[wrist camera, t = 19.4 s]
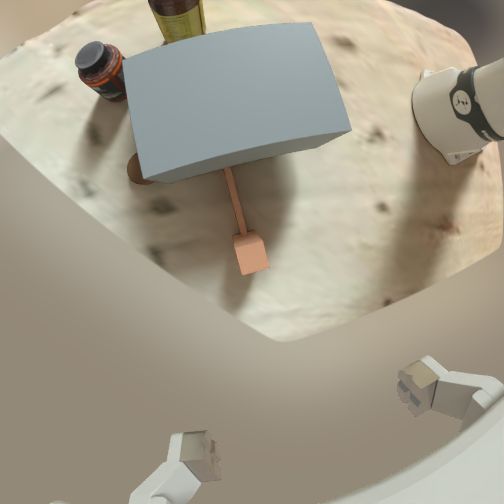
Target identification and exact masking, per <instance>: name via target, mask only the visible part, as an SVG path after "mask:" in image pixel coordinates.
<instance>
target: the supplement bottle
mask: <svg viewBox="0 0 504 504" xmlns="http://www.w3.org/2000/svg"><path fill="white" fill-rule="evenodd" d="M122 60H125V57H124V56H123V55H122V54H121V52H120V51H119V50H118V49H117V48H116V47H115V46H113V45H109V44H104V45H103V43H101V42H99V41H94V42H91V43H89V44H87V45H85V46H84V47H83V48H82V49H81V50H80V51H79V52H78V54H77V56H76V59H75V65H76V67H77V68H79V69H78V74H79V77H80V79H81V80H82V81H83V82H84V83H85V84H86V85H88V86H89V87H90V88H92V89H93V90H94V91H96V92H97V93H99V94H100V95H101V96H103V97H104V98H105V99H107V100H109V101H112V102H116V101H121V100H123V99H125V98H127V93H126V87H125V79H124V72H123V64H122Z"/></svg>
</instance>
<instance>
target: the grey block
mask: <svg viewBox="0 0 504 504" xmlns="http://www.w3.org/2000/svg"><path fill="white" fill-rule="evenodd" d="M122 64H123V72H124V79H125V87H126V93H127V100H128V106H129V112H130V117H131V123H132V128H133V133H134V138H135V143H136V148H137V153H138V157H139V162H140V166H141V170H142V175H143V179H147V180H151V181H156V182H161V183H166V184H171V183H174V182H177V181H180V180H184V179H187V178H190V177H194V176H197V175H201V174H204V173H208V172H211V171H215V170H219V169H223V168H226V167H230V166H234V165H238V164H242V163H246V162H251V161H255V160H259V159H263V158H268V157H273V156H277V155H282V154H287V153H292V152H297V151H302V150H307V149H313V148H317V147H319V146H321V145H323V144H325V143H327V142H329V141H331V140H333V139H335V138H337V137H339V136H341V135H343V134H345V133H347V132H349V131H351V130H352V129H351V125H350V122H349V119H348V115H347V112H346V109H345V106H344V103H343V100H342V97H341V94H340V91H339V88H338V85H337V82H336V80H335V77H334V74H333V71H332V69H331V66H330V64H329V61H328V59H327V56H326V54H325V51H324V49H323V46H322V44H321V42H320V40H319V37H318V35H317V33H316V31H315V28H314V26H313V24H312V22H309V23H282V24H269V25H259V26H250V27H243V28H236V29H230V30H224V31H219V32H214V33H209V34H205V35H200V36H196V37H192V38H188V39H184V40H180V41H177V42H173V43H170V44H167V45H163V46H160V47H157V48H154V49H151V50H148V51H146V52H143V53H140V54H137V55H135V56H132V57H129V58H127V59H125V60H122Z"/></svg>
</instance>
